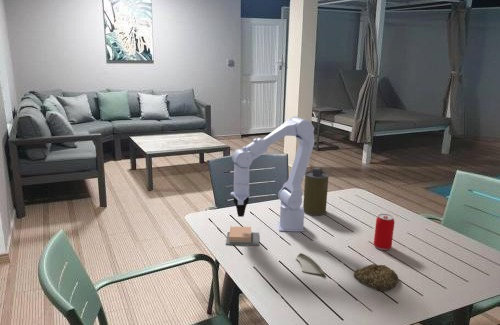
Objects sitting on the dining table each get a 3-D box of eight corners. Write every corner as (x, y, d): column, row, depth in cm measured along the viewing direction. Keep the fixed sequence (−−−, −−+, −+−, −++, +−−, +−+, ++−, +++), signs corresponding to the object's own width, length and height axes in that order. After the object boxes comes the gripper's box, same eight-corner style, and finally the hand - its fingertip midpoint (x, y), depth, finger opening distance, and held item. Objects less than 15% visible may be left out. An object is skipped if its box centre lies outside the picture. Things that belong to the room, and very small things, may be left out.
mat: (258, 233, 154) (258, 232, 154) (259, 245, 145) (259, 244, 145) (227, 232, 154) (227, 231, 154) (225, 244, 145) (225, 243, 145)
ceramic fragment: (326, 277, 126) (327, 266, 125) (313, 281, 123) (313, 270, 122) (299, 258, 138) (300, 248, 137) (287, 262, 135) (287, 251, 134)
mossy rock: (380, 295, 117) (382, 280, 115) (347, 276, 126) (349, 262, 125) (406, 282, 124) (408, 268, 123) (373, 265, 134) (375, 251, 132)
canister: (322, 217, 171) (325, 172, 166) (299, 213, 175) (301, 169, 170) (329, 209, 180) (332, 166, 175) (306, 205, 185) (309, 163, 179)
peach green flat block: (251, 226, 154) (250, 237, 146) (251, 231, 155) (250, 242, 146) (230, 226, 154) (229, 236, 146) (230, 231, 155) (229, 241, 146)
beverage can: (392, 245, 147) (396, 215, 144) (390, 252, 142) (394, 221, 139) (374, 241, 150) (378, 211, 147) (372, 248, 144) (375, 217, 141)
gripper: (231, 175, 155) (231, 208, 159) (229, 187, 141) (229, 223, 145) (249, 176, 155) (249, 208, 159) (249, 188, 141) (248, 223, 145)
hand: (240, 215), depth 152 cm, fingers closed
